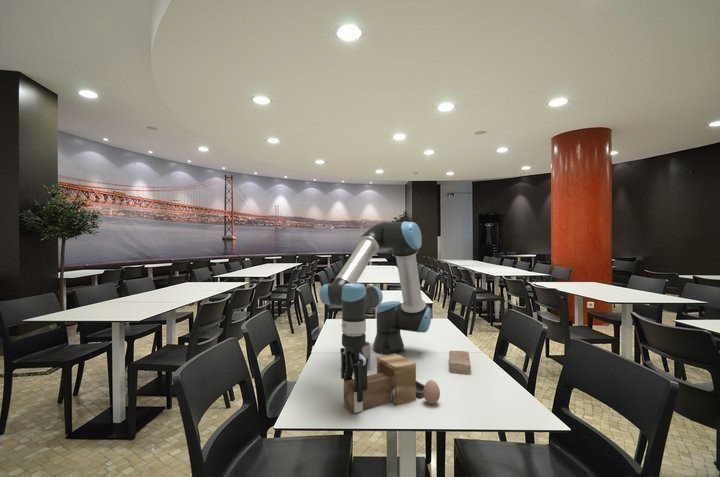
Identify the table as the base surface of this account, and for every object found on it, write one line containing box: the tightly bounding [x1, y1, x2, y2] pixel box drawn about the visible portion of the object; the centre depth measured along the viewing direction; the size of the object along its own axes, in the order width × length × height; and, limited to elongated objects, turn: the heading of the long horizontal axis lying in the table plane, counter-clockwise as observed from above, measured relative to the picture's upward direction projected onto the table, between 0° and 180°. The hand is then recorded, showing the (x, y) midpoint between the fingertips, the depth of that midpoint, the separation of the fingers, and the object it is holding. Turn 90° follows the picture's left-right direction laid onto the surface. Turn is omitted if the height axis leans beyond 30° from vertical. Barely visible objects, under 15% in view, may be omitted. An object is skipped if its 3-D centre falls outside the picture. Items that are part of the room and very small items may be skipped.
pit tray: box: [416, 380, 425, 400], centre depth 118 cm, size 11×6×2 cm, turn 31°
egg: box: [423, 379, 441, 405], centre depth 108 cm, size 5×5×7 cm
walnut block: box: [343, 372, 392, 414], centre depth 107 cm, size 5×15×8 cm, turn 121°
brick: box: [448, 350, 472, 376], centre depth 141 cm, size 17×8×5 cm, turn 165°
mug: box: [355, 341, 371, 372], centre depth 139 cm, size 12×9×10 cm
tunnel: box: [376, 354, 417, 407], centre depth 113 cm, size 11×8×12 cm
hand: (353, 407), depth 105 cm, fingers closed on walnut block, 5 cm apart
